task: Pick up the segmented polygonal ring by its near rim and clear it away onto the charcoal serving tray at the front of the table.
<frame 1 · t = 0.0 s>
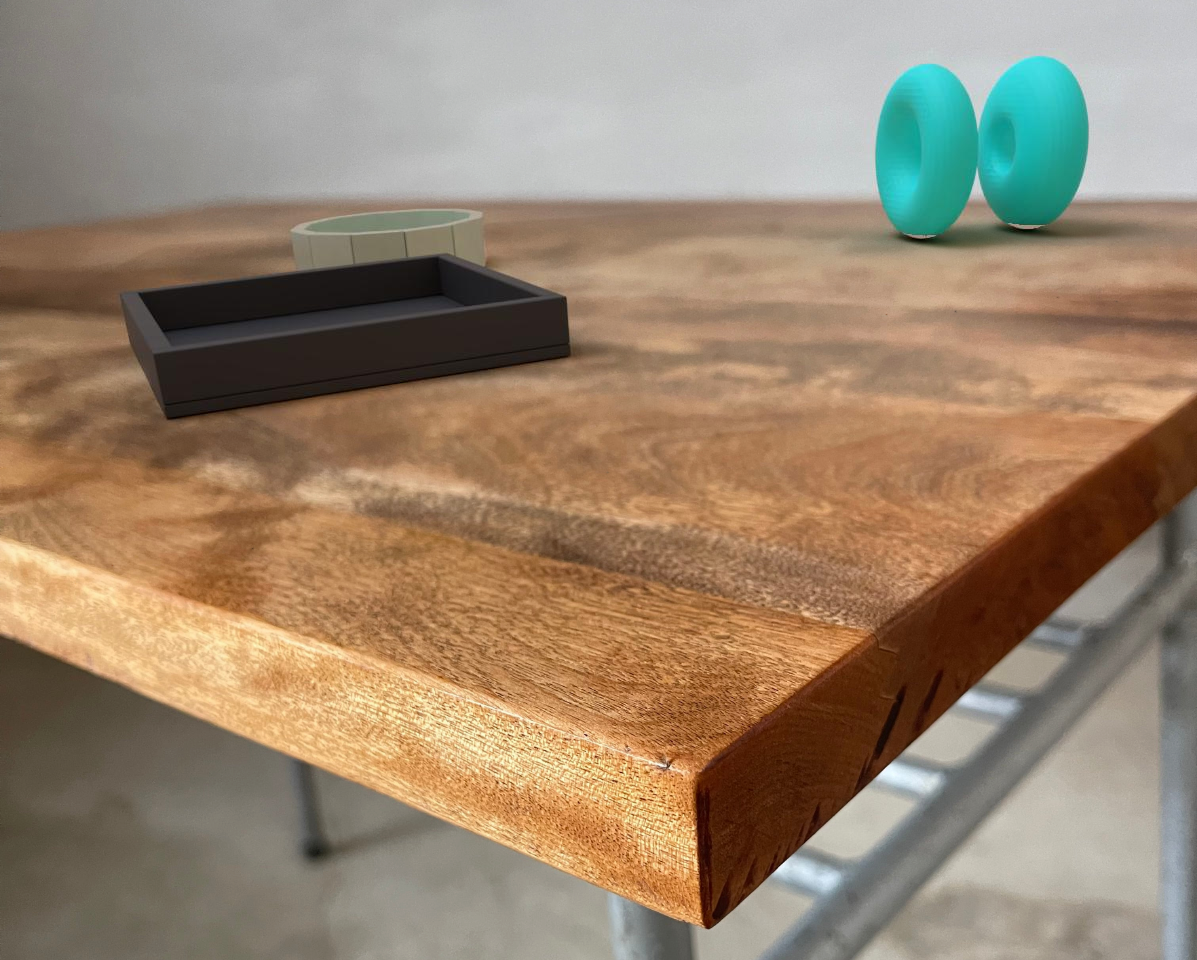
donuts: (972, 237, 77), on the table
segmented polygonal ring: (394, 270, 78), on the table
tray: (334, 349, 57), on the table
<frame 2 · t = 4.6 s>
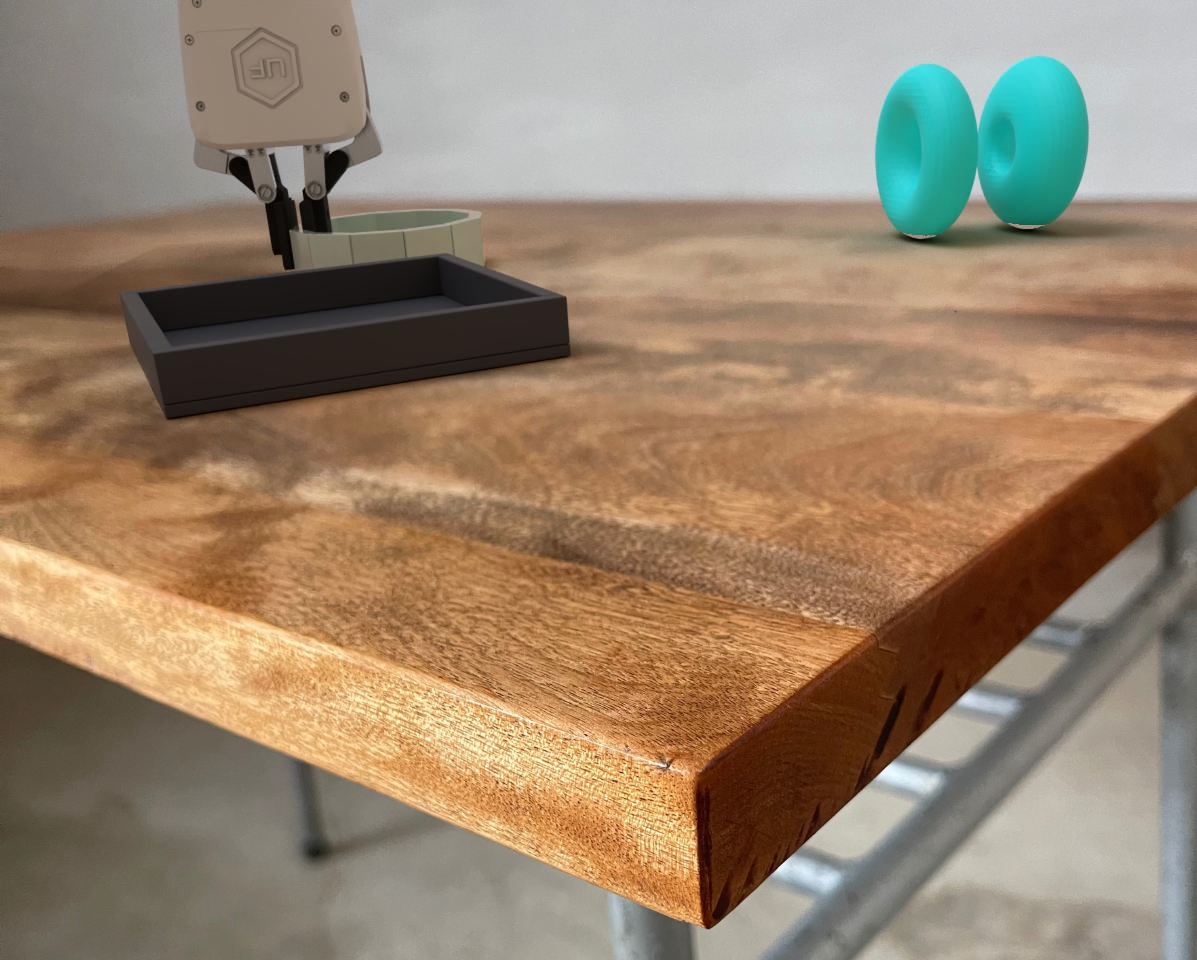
hand: (306, 264, 77), 1 cm above the table, tool pointing down, fingers closed on segmented polygonal ring
segmented polygonal ring: (393, 270, 78), on the table, touching gripper
everything else where it was.
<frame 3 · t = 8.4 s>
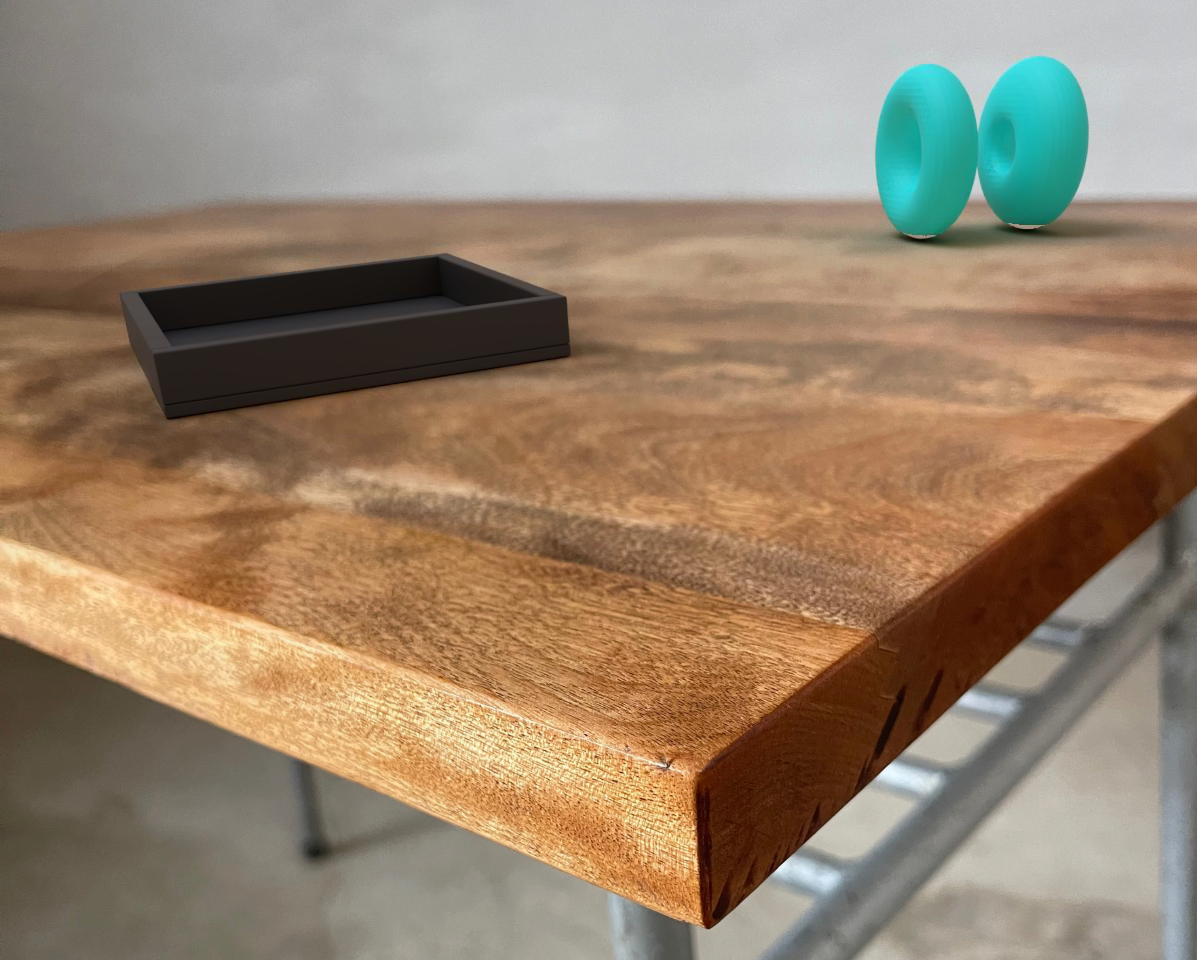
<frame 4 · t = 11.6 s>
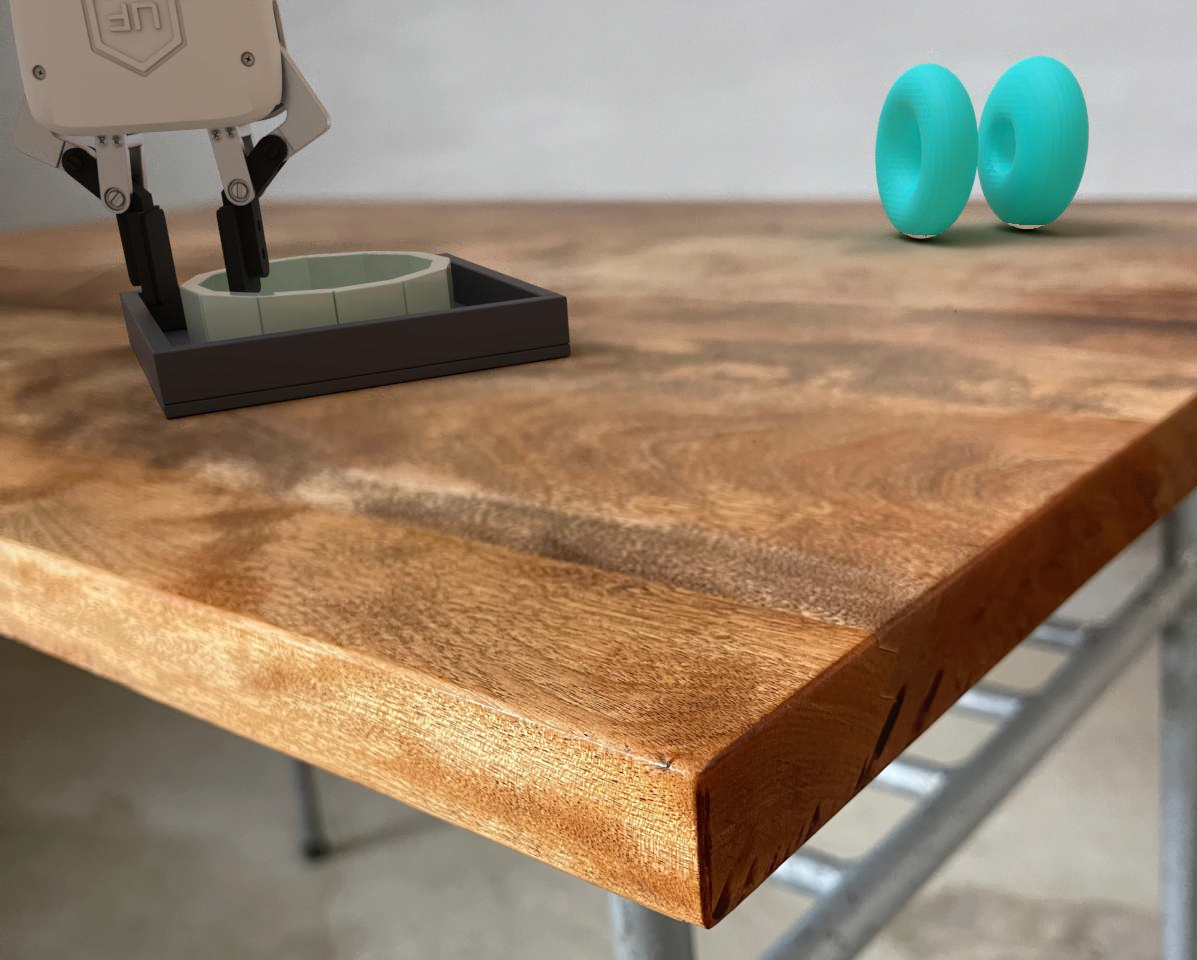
hand: (204, 295, 55), 3 cm above the table, tool pointing down, fingers open, 3 cm apart
segmented polygonal ring: (327, 338, 56), resting on tray
everything else where it was.
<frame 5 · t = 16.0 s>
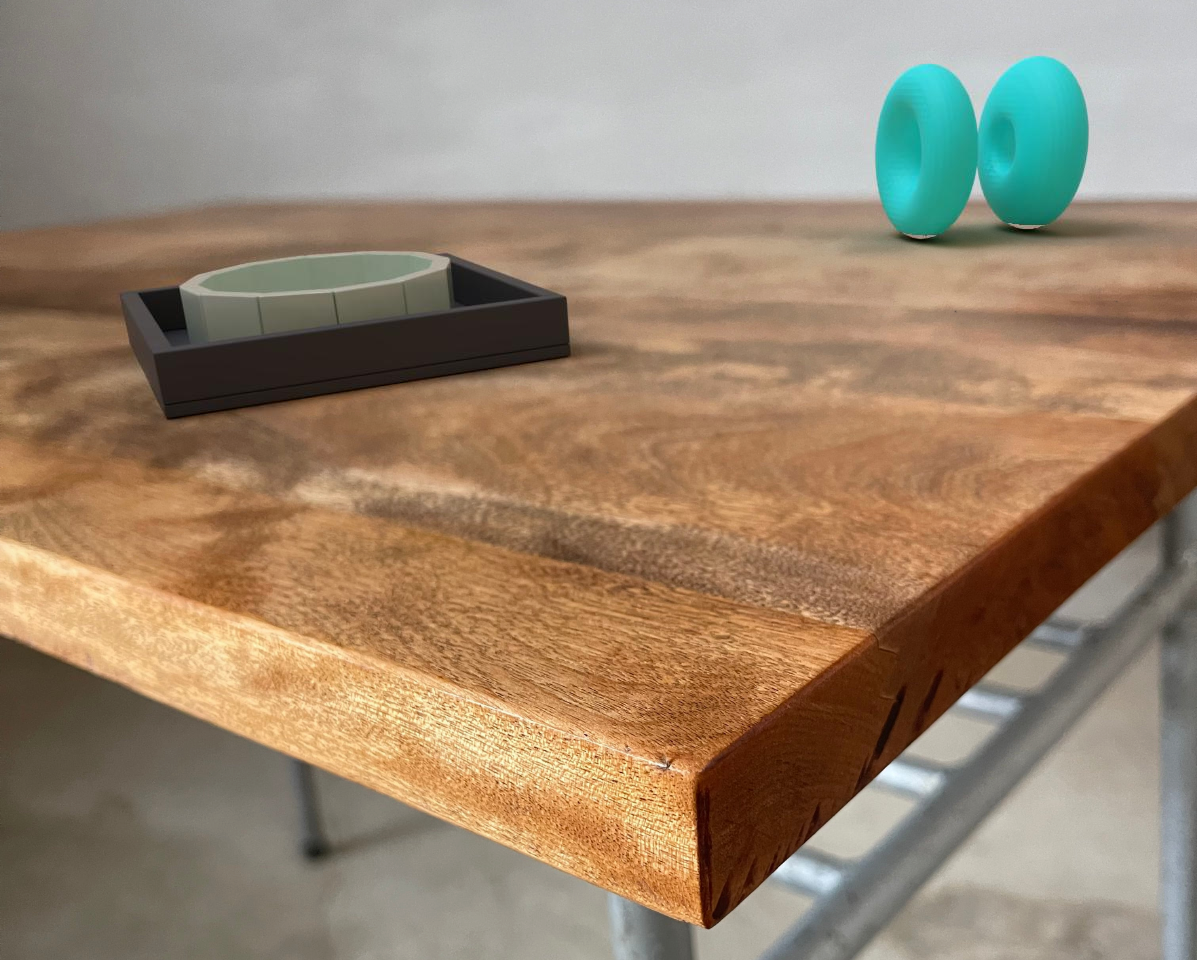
nothing on the table moved.
at the end: segmented polygonal ring inside the target area in the tray (0.2 cm from its centre), point 0.5 cm above the tray's base; segmented polygonal ring tilted 0°; the gripper is holding nothing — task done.
